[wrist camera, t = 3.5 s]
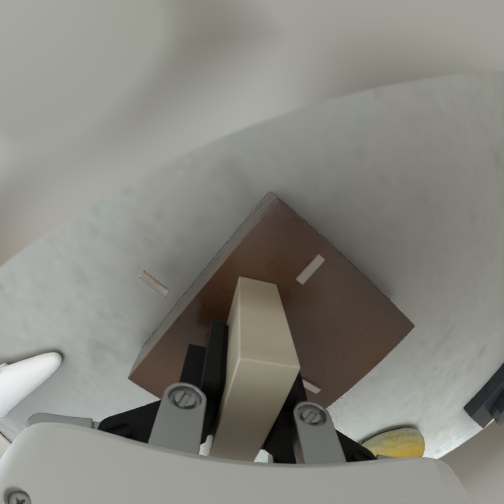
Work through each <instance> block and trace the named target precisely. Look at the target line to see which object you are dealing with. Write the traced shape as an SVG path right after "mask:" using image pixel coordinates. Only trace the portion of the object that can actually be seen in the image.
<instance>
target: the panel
mask: <svg viewBox="0 0 504 504" xmlns="http://www.w3.org/2000/svg"><path fill="white" fill-rule="evenodd" d="M240 276H241V277H246V278H250V279H254V280H259V281H263V282H268V283H272V284H276V285H277V289H278V292H279V295H280V299H281V302H282V305H283V309H284V312H285V316H286V319H287V322H288V326H289V329H290V333H291V336H292V340H293V343H294V346H295V350H296V353H297V357H298V360H299V364H300V373H301V377H302V381H303V384H304V388H305V392H306V395H307V399H308V401H311V402H315V403H318V404H320V405H322V406H323V407H324V408H325V409H326V408H327V407H328V406H330V405H331V404H332V403H333V402H335V401H336V400H337V399H338V398H340V397H341V396H342V395H343V394H345V393H346V392H347V391H348V390H349V389H350V388H352V387H353V386H354V385H355V384H356V383H357V382H359V381H360V380H361V379H362V378H363V377H364V376H365V375H366V374H368V373H369V372H370V371H371V370H372V369H373V368H374V367H375V366H376V365H377V364H378V363H379V362H380V361H382V360H383V359H384V358H385V357H386V356H387V355H388V354H389V353H390V352H391V351H392V350H393V349H394V348H395V347H396V346H397V345H398V344H399V343H400V342H401V341H402V340H403V339H404V337H405V336H406V335H407V334H408V333H409V332H410V331H411V330H412V329H413V328H414V327H415V326H414V324H413V323H412V322H411V321H410V320H409V319H408V318H407V317H406V316H405V315H404V314H403V313H402V312H401V311H400V310H399V309H398V308H397V307H396V306H395V305H394V304H393V303H392V302H391V301H390V300H389V299H388V298H387V297H386V296H385V295H384V294H383V293H382V292H381V291H380V290H379V289H378V288H377V287H376V286H375V285H374V284H373V283H372V282H371V281H370V280H369V279H368V278H367V277H366V276H365V275H364V274H363V273H361V272H360V271H359V270H358V269H357V268H356V267H355V266H354V265H353V264H352V263H351V262H350V261H349V260H348V259H347V258H346V257H344V256H343V255H342V254H341V253H340V252H339V251H338V250H337V249H336V248H335V247H334V246H333V245H331V244H330V243H329V242H328V241H327V240H326V239H325V238H324V237H323V236H322V235H320V234H319V233H318V232H317V231H316V230H315V229H314V228H313V227H311V226H310V225H309V224H308V223H307V222H306V221H305V220H304V219H302V218H301V217H300V216H299V215H298V214H297V213H296V212H294V211H293V210H292V209H291V208H290V207H289V206H287V205H286V204H285V203H284V202H283V201H282V200H280V199H279V198H278V197H277V196H276V195H274V194H273V193H272V192H269V193H268V194H267V195H266V196H265V197H264V198H263V200H262V201H261V202H260V203H259V204H258V206H257V207H256V208H255V209H254V210H253V211H252V213H251V214H250V215H249V216H248V217H247V219H246V220H245V221H244V222H243V223H242V225H241V226H240V227H239V228H238V229H237V231H236V232H235V233H234V234H233V235H232V237H231V238H230V239H229V240H228V241H227V243H226V244H225V245H224V246H223V247H222V249H221V250H220V251H219V252H218V253H217V255H216V256H215V257H214V258H213V260H212V261H211V262H210V263H209V264H208V266H207V267H206V268H205V269H204V271H203V272H202V273H201V274H200V275H199V277H198V278H197V279H196V280H195V282H194V283H193V284H192V285H191V287H190V288H189V289H188V290H187V292H186V293H185V294H184V295H183V297H182V298H181V299H180V300H179V302H178V303H177V304H176V305H175V307H174V308H173V309H172V310H171V312H170V313H169V314H168V315H167V317H166V318H165V319H164V320H163V322H162V323H161V324H160V326H159V327H158V328H157V329H156V331H155V332H154V333H153V334H152V336H151V337H150V338H149V340H148V341H147V342H146V343H145V345H144V346H143V347H142V349H141V351H140V353H139V355H138V357H137V359H136V361H135V363H134V365H133V368H132V370H131V372H130V374H129V376H128V379H129V380H131V381H132V382H134V383H135V384H137V385H138V386H140V387H142V388H143V389H145V390H146V391H148V392H150V393H151V394H153V395H155V396H156V397H158V398H160V399H161V400H162V397H163V394H164V391H165V390H166V388H167V387H168V386H170V385H171V384H174V383H179V381H180V376H181V372H182V369H183V365H184V361H185V357H186V353H187V349H188V345H189V344H193V345H198V346H202V347H206V345H207V341H208V336H209V331H210V327H211V322H212V319H216V320H221V321H225V325H227V321H228V317H229V313H230V310H231V306H232V302H233V298H234V294H235V290H236V286H237V283H238V279H239V277H240ZM139 278H140V279H142V280H143V281H144V282H145V283H147V284H148V285H149V286H151V287H152V288H153V289H155V290H156V291H157V292H159V293H160V294H161V295H163V296H164V297H166V296H167V294H168V293H169V292H170V290H169V289H168V288H166V287H165V286H164V285H162V284H161V283H160V282H159V281H157V280H156V279H155V278H153V277H152V276H151V275H149V274H148V273H147V272H146V271H144V272H143V273H142V274H141V276H140V277H139Z"/></svg>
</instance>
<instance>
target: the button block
mask: <svg viewBox="0 0 504 504" xmlns="http://www.w3.org/2000/svg"><path fill="white" fill-rule="evenodd" d="M464 409H465V411H466V412H467V413H468V414H469V416H470V417H471V418H472V419H473V420H474V421H475V422H477V423H478V424H479V425H480V426H481V427H482V428H484V427H485V426H486V425H487V424H488V423H489V422H490V421H491V420H492V419H493V418H494V420H495V421H496V422H497V423H498V424H499V425H500V424H502V423H504V364H503V365H502V367H501V368H500V369H499V370H498V371H497V373H496V374H495V375H494V376H493V377H492V378H491V380H490V381H489V382H488V383H487V384H486V385H485V386H484V387H483V389H482V390H481V391H480V392H479V393H478V394H477V395H476V396H475V397H474V398H473V399H472V400H471V401H470V402H469V403H468V404H467V405H466V406H465V407H464Z"/></svg>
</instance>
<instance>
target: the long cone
mask: <svg viewBox="0 0 504 504" xmlns="http://www.w3.org/2000/svg"><path fill="white" fill-rule="evenodd" d="M61 362H62V358H61V356H60V354H58V353H55V352H51V353H45V354H41V355H38V356H35V357H32V358H28V359H25V360H22V361H19V362H16V363H13V364H10V365H8V364H7V363H4V364H1V365H0V419H1V418H2V417H3V416H4V415H5V414H6V413H7V412H9V411H10V410H11V409H12V408H13V407H14V406H15V405H17V404H18V403H19V402H20V401H21V400H22V399H24V398H25V397H26V396H27V395H28V394H30V393H31V392H32V391H33V390H34V389H35V388H37V387H38V386H39V385H40V384H41V383H42V382H44V381H45V380H46V379H47V378H48V377H49V376H50V375H52V374H53V373H54V372H55V371H56V370H57V368H58V367H59V366H60V364H61Z"/></svg>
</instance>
